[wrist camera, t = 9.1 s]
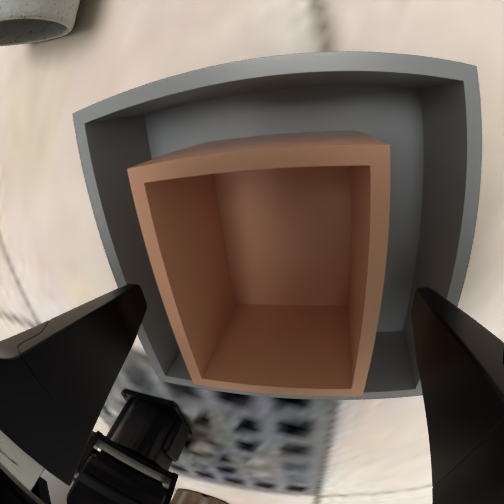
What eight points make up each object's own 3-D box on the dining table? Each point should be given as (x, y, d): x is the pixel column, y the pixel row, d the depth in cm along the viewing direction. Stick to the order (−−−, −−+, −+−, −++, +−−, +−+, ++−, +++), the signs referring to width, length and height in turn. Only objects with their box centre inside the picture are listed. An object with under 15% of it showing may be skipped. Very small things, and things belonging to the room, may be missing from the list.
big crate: (191, 326, 19) (159, 380, 15) (139, 106, 13) (72, 113, 9) (408, 331, 16) (423, 394, 11) (425, 78, 10) (476, 66, 5)
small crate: (231, 304, 17) (193, 384, 12) (202, 142, 13) (126, 168, 8) (355, 305, 15) (362, 396, 10) (358, 130, 11) (389, 144, 6)
